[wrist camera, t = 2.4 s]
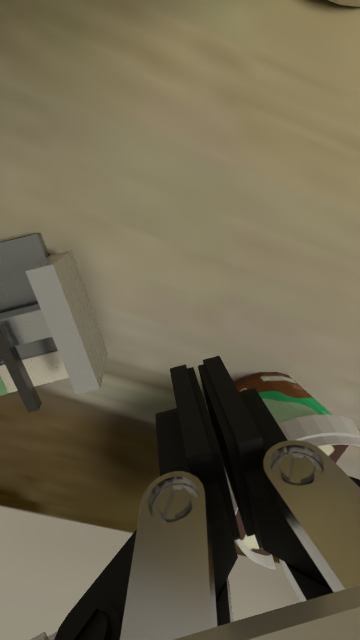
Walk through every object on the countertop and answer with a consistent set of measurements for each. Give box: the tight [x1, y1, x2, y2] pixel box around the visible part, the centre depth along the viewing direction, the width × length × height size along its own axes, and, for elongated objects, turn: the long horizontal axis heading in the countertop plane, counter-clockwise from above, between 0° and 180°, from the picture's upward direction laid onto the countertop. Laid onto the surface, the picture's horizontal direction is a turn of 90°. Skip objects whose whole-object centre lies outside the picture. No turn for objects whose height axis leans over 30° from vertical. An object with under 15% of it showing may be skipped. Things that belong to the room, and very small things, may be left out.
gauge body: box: [0, 233, 69, 396], centre depth 23 cm, size 11×9×3 cm
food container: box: [224, 372, 360, 569], centre depth 25 cm, size 12×6×10 cm, turn 156°
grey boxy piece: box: [0, 250, 108, 412], centre depth 21 cm, size 10×9×5 cm
